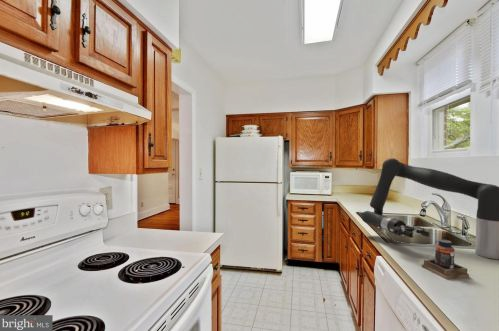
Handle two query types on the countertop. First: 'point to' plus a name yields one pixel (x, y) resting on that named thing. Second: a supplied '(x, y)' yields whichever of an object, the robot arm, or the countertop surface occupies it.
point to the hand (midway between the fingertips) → (420, 235)
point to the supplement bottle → (444, 254)
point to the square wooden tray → (445, 270)
